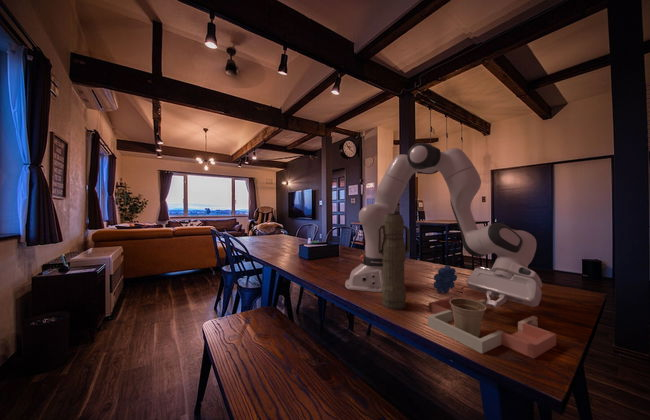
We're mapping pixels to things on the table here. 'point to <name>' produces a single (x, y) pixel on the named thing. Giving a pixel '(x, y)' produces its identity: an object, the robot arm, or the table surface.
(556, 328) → the table surface
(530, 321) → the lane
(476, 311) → the flower pot
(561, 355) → the table surface
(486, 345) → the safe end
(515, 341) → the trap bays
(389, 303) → the thermos
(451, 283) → the grapes
